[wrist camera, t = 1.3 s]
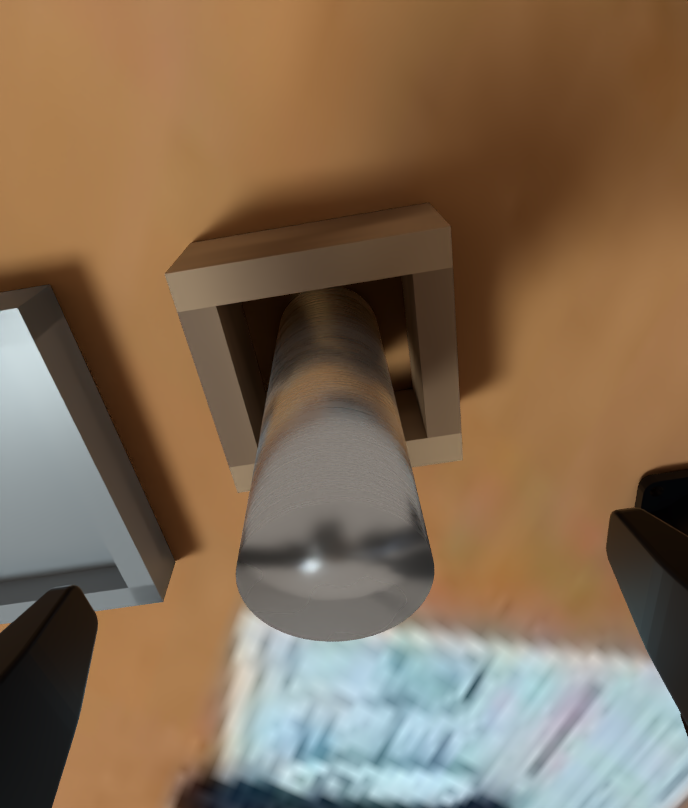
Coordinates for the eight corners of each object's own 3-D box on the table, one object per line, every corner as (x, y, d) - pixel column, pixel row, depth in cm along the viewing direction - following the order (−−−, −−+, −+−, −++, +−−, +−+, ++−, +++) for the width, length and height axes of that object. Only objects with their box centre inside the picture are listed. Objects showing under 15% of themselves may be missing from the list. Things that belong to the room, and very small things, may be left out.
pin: (371, 277, 16) (425, 488, 8) (383, 369, 18) (440, 628, 9) (269, 294, 16) (211, 519, 8) (290, 383, 18) (261, 652, 10)
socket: (429, 202, 15) (450, 226, 13) (443, 408, 19) (462, 459, 16) (190, 243, 16) (164, 274, 13) (248, 438, 19) (237, 492, 17)
